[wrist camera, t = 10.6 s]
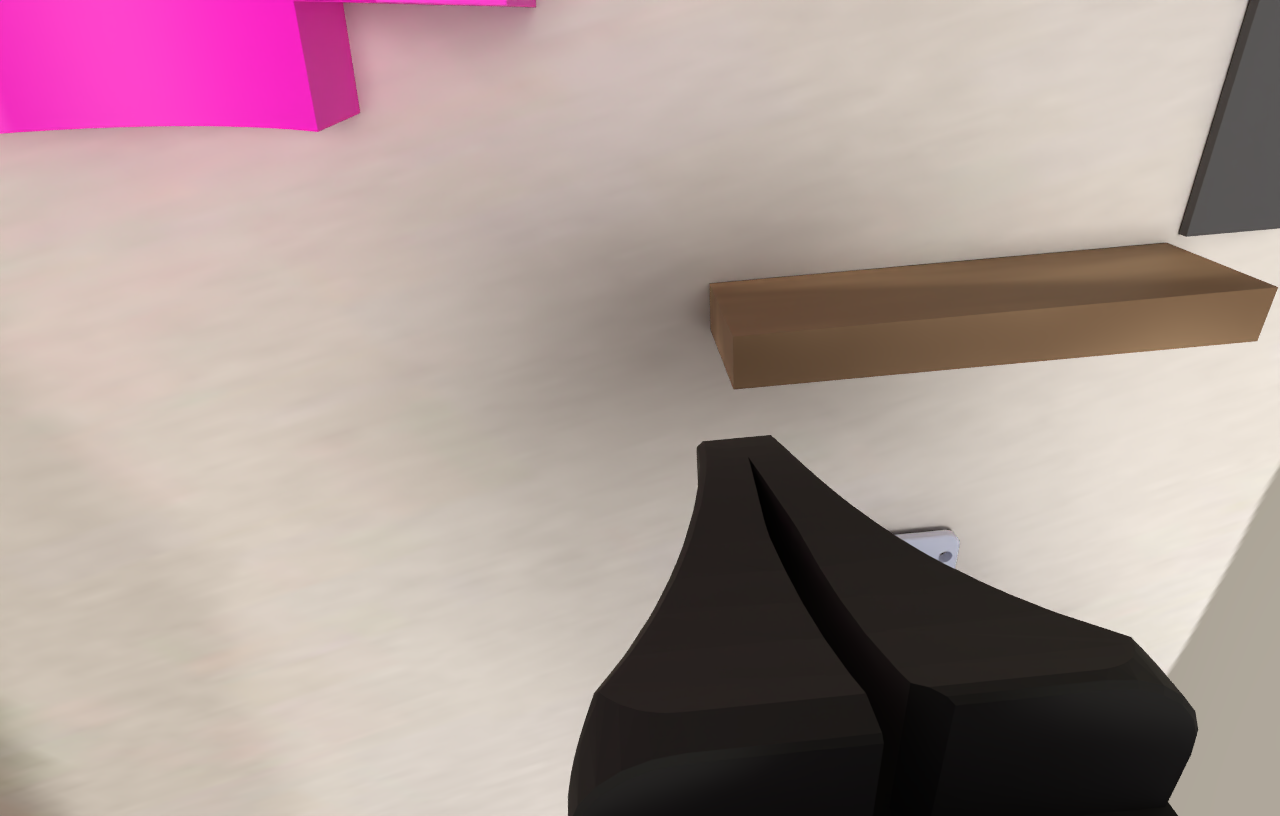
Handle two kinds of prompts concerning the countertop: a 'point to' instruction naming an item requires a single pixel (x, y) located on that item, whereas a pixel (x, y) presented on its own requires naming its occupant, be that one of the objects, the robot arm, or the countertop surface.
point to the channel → (981, 314)
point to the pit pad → (1243, 137)
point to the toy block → (180, 63)
